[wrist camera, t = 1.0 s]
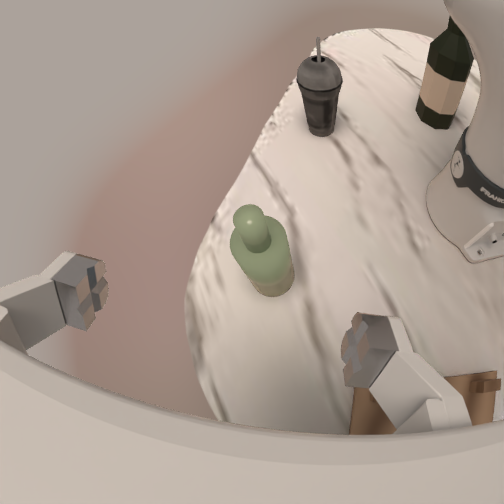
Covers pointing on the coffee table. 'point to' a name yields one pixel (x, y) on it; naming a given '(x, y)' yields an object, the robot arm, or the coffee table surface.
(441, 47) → the wine bottle
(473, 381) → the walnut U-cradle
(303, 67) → the beverage cup
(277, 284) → the olive glass bottle
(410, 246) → the coffee table surface
